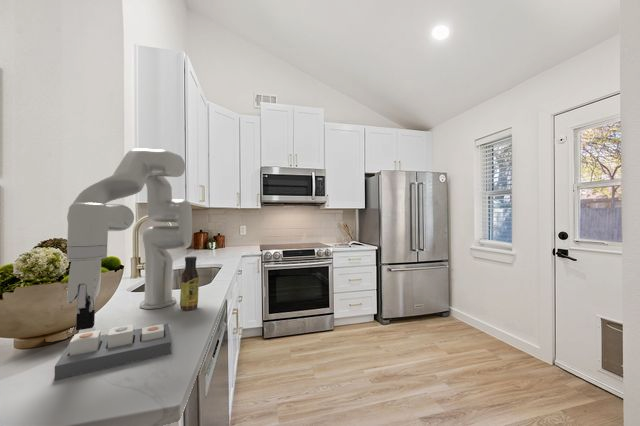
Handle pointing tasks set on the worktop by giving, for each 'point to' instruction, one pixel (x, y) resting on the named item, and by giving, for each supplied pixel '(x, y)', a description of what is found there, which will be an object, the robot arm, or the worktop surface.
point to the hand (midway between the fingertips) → (85, 327)
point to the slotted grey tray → (112, 354)
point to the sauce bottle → (189, 285)
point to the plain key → (120, 336)
